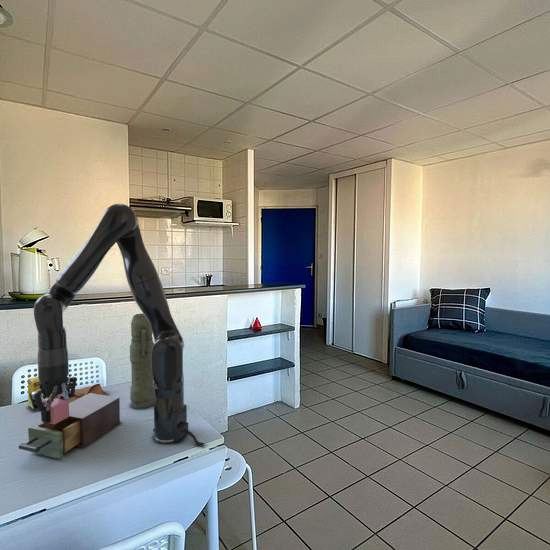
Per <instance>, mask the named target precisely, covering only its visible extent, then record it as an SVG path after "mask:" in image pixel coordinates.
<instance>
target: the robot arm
mask: <svg viewBox="0 0 550 550" xmlns="http://www.w3.org/2000/svg"><path fill="white" fill-rule="evenodd" d="M115 244H116V246H117V247H118V249H119V252H120V254H121V257H122V263H123V268H124V273H125V277H126V282H127V284H128V287H129V290H130V293H131V295H132V297H133V300H134V302H135V303H136V305H137V307H138V308H139V310H140V311H141V313H142V314H144V315H145V317H146V318H147V320H148V322H149V324H150V326H151V329H152V337H153V340H154V342H153V343H154V345H153V347H152V377H153V383H154V405H153V426H154V427H153V429H152V433H153V439H154V441H155V442H157V443H161V444H170V443H178V442H179V441H180V440H181V439H182V438H183V437H184V436H186V434H187V435H189V436H190V437H191V438H192V440H193V442H194V443H195V444H196V445H197V446H202V447H203V446H204V445H205V443H204V442H200V441H199V440H198V439H197V437H196V435H194V434H193V433H192V431H190V430H189V422H188V416H187V415H188V407H187V406H188V405H187V404H185V374H184V366H183V365H184V359H183V358H184V357H183V356H184V350H185V341H184V339H183V336H182V334H181V333H180V330H179V327H178V326H177V324H176V323H175V320H174V318H173V316H172V313H171V311H170V310H171V309H170V306H169V303H168V299H167V296H166V293H165V289H164V286H163V284H162V281H161V278H160V276H159V273H158V271H157V269H156V267H155V264H154V262H153V260H152V258H151V257H150V254H149V253H148V251H147V249H146V246H145V242H144V239H143V236H142V233H141V229H140V224H139V220H138V216H137V214H136V213H135V211H134V209H133V208H131V207H130V206H129V205H127V204H124V203H114V204H112V205H110V206H108V207H107V208H106V209H105V210H104V213H103V215H102V216H101V217H100V220H99V221H98V223H97V225H96V227H95V228H94V230H93V232H92V233H91V235H90V236H89V238H88V239H87V240H86V242H84V244H83V246H82V247H81V248H80V249H79V250H78V252H77V253H75V255H74V256H73V258H71V260H70V261H69V262H68V264H67V265H66V266H65V267H64V268H63V270H62V271H61V272H60V273H59V275H57V277H56V280H55V282H54V283H53V285H52V286H51V287H50V288H49V289H48V291H47V292H46V293H45V294H44V295H41V296H40V297H38V298H37V299H36V300H35V302H34V305H33V318H34V322H35V323H34V324H35V328H36V330H37V331H36V332H37V373H38V374H37V377H38V378H39V380H40V386H39V389H38V390H36V391H35V392H30V393H29V396H30V399H31V402H32V406H33V409H34V411H33V412H39V413H40V418H41V419H42V422H44V423H50V422H51V414H50V407H51V403H52V402H53V401H54V397H55V396H57V395H58V397H59V399H62V400H69V399H70V398H71V397H74V394H75V390H76V387H77V386H76V385H77V380H78V379H77V377H76V376H69V375H70V371H69V370H70V368H69V349H68V342H67V339H68V337H67V330H66V327H65V326H64V318H63V317H64V316H63V314H64V312H65V311H67V308H68V307H69V306H70V305H71V303H72V301H73V300H74V299H75V297H76V296H77V294H78V293H79V292H80V291H81V290H82V289H83V288H84V287H85V285H86V284H87V282H89V281H90V279H91V278H92V277H93V275H94V274H95V273H96V271H98V268H99V266H100V265H101V263H102V262H103V260H104V258H105V257H106V255H107V254H108V252H109V251H110V250H111V249H112V248H113V247H114V245H115ZM41 393H42V395H41ZM46 397H49V399H47V398H46ZM46 402H47V404H46ZM45 405H46V406H45ZM42 422H41V423H42Z"/></svg>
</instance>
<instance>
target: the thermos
mask: <svg viewBox="0 0 550 550" xmlns="http://www.w3.org/2000/svg"><path fill="white" fill-rule="evenodd" d="M130 335H131V340H130V346H129V361H130V364H131V365H130V366H131V385H130V391H129V393H130V396H129V397H130V407H131V408H132V409H135V410H142V409H143V410H144V409H148V408H151V407H153V406H154V381H153V377H152V347H153V345H154V343H155V342H154V341H153V340H154V337H153V332H152V329H151V326H150V324H149V322H148V320H147V318H146V317H145V315H144V314H143V313H136V314H135V315H133V317H132V319H131V322H130Z"/></svg>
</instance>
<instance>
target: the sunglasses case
mask: <svg viewBox="0 0 550 550" xmlns="http://www.w3.org/2000/svg"><path fill="white" fill-rule="evenodd" d="M89 393H93V394H99V395H105V396H108V395H107V394H106V393H105V391H104V389H103V388H102V386H101V383H95V384H93V385H89V386H85V387H81V388H75V394H74V397H71V398H70V399H69V403H71V402H73V401H75V400H77V399H79V398H81V397H83V396H85V395H87V394H89ZM54 399H59V397H58V395H57V396H55V397H54Z"/></svg>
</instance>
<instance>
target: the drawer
mask: <svg viewBox="0 0 550 550" xmlns="http://www.w3.org/2000/svg"><path fill="white" fill-rule="evenodd" d="M27 435H28V441H26V442H25V443H24V442H21V443H19V445H18V450H23V451H27V452H29V453H33V454H38V455H41V456H47V457H50V458H55V459H62V458H63V457H64V453H67V452H68V451H70V450H71V449H73V448H75V447H77V446H76V445H78V444H79V443H81V421H80V420H74V419H69V418H66V419H64V420H62V421H60V422H58V423H56V424H50V423H44V422H40V423H38V424H37V426H36V425H31V426H28V427H27Z"/></svg>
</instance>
